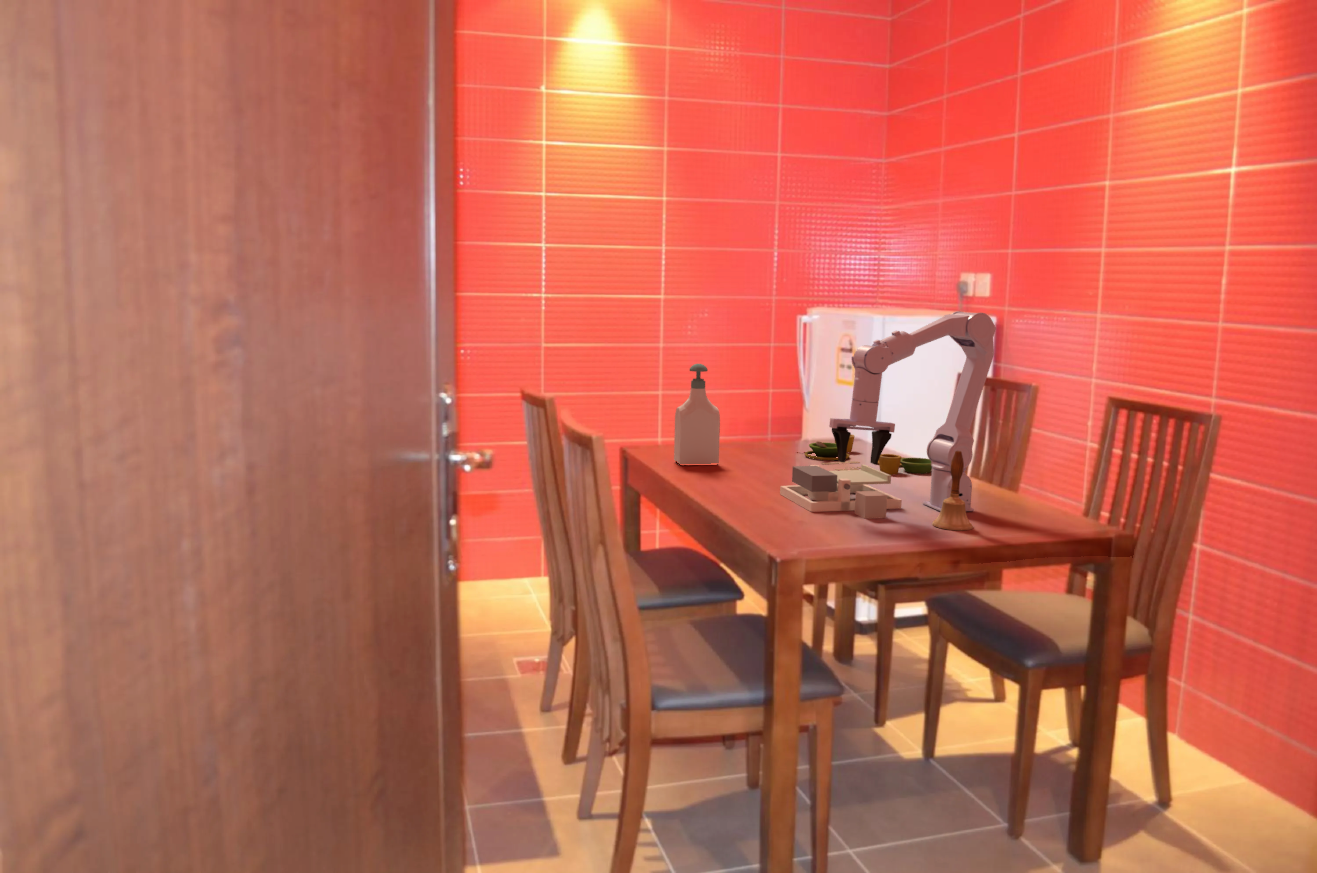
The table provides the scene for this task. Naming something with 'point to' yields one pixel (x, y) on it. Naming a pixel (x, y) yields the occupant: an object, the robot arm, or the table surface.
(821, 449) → the tableware set
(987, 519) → the table surface
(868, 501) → the beige cube
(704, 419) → the soap bottle
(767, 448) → the table surface
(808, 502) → the frame
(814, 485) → the trapdoor
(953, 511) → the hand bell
